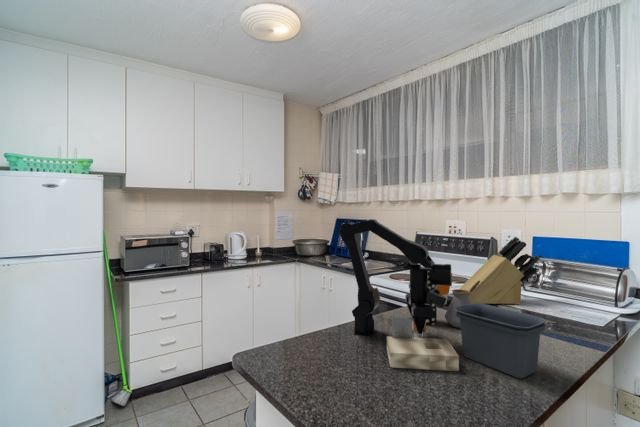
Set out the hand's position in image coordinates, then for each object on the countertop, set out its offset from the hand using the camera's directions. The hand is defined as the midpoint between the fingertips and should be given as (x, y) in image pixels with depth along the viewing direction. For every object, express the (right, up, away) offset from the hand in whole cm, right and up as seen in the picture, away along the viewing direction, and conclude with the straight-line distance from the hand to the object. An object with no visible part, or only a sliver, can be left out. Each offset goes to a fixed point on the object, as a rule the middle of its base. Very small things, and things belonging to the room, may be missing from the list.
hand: (418, 330), depth 108 cm
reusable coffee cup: (+23, -4, +46) cm, 52 cm away
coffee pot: (+24, -4, +18) cm, 31 cm away
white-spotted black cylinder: (+8, -4, +19) cm, 21 cm away
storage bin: (+18, -4, -16) cm, 24 cm away
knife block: (+52, -4, +48) cm, 71 cm away
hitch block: (-4, -4, -14) cm, 15 cm away
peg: (0, -4, 0) cm, 4 cm away
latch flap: (-7, +4, -8) cm, 12 cm away
